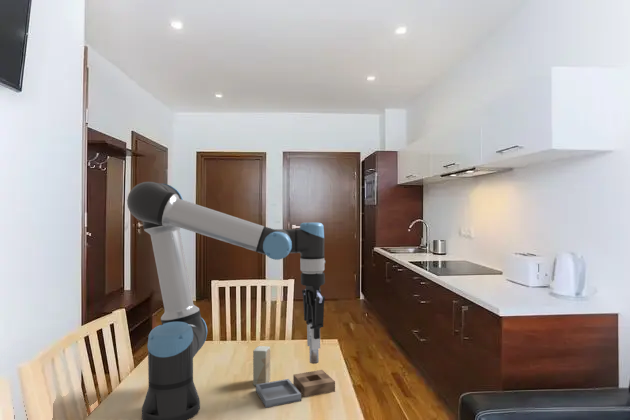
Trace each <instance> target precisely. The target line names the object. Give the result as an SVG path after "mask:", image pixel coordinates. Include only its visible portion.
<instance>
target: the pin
mask: <svg viewBox="0 0 630 420" xmlns="http://www.w3.org/2000/svg"><path fill="white" fill-rule="evenodd" d="M310 327H312V323H309V346H308V347H309V349H308V350H309V363H310V364H313V365H315V364H319V361H320V360H319V355H320V354H319V349H313V350H312V349H311V329H310Z"/></svg>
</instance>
